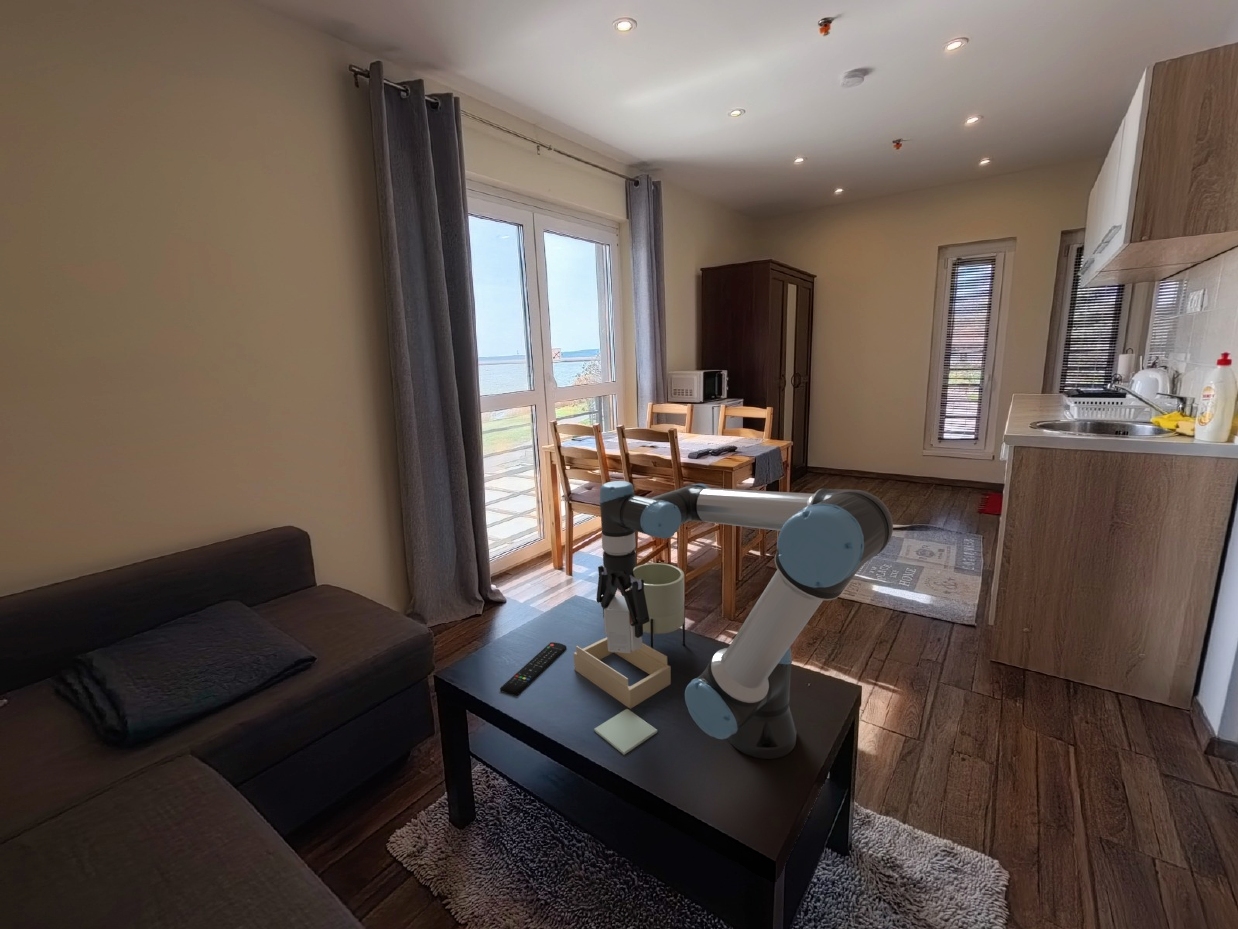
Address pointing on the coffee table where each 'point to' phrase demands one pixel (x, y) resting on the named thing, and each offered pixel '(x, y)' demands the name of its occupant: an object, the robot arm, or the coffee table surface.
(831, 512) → the robot arm
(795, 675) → the coffee table surface
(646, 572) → the planter
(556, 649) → the remote control
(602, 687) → the tray
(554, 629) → the coffee table surface
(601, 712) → the coffee table surface
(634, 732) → the pad
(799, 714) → the coffee table surface
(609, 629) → the small box
